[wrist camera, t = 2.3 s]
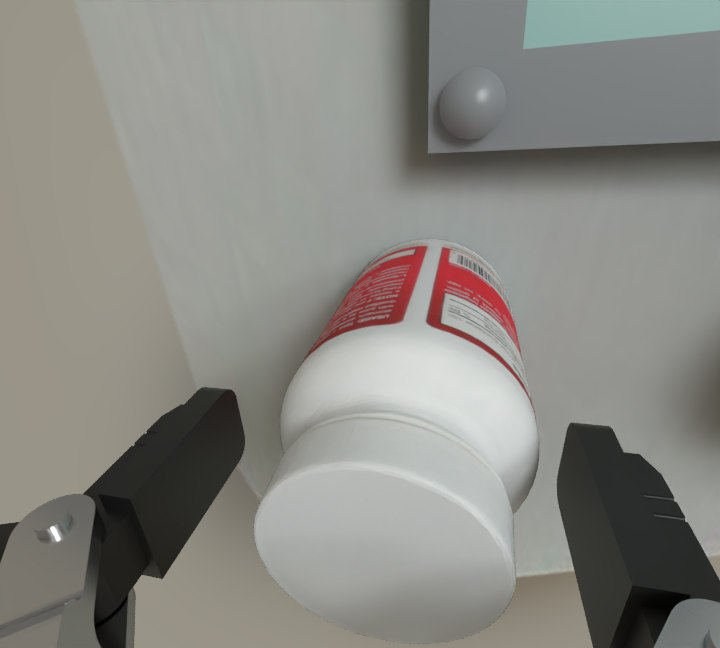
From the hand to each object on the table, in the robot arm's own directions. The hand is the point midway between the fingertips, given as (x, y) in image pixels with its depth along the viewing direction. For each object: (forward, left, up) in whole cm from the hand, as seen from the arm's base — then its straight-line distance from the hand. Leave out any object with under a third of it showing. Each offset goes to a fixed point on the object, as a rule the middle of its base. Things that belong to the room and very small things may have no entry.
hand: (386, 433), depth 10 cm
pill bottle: (0, 0, -8) cm, 8 cm away
